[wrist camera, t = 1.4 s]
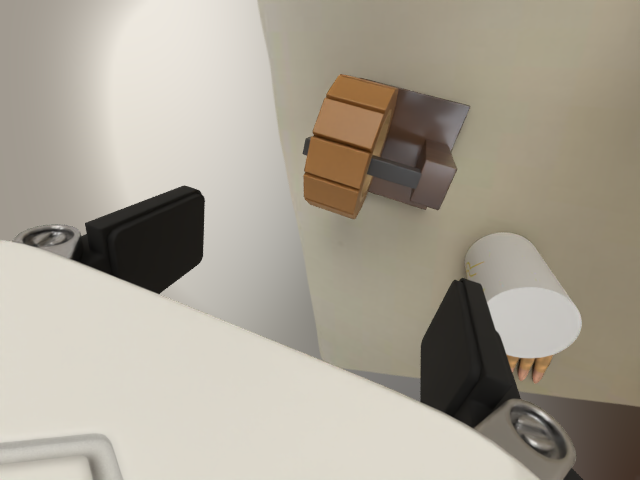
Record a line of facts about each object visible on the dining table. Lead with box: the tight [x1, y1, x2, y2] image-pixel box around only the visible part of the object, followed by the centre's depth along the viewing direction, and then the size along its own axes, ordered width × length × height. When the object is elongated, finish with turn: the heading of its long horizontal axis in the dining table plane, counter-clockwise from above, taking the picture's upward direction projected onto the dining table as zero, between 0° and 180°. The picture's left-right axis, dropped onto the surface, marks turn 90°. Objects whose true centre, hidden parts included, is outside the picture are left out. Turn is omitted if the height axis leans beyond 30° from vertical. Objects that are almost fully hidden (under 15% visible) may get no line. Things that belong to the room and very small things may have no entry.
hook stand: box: [303, 78, 470, 210], centre depth 31 cm, size 12×13×13 cm
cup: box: [465, 232, 582, 358], centre depth 33 cm, size 8×8×12 cm
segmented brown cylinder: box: [304, 74, 398, 219], centre depth 29 cm, size 12×5×12 cm, turn 167°
